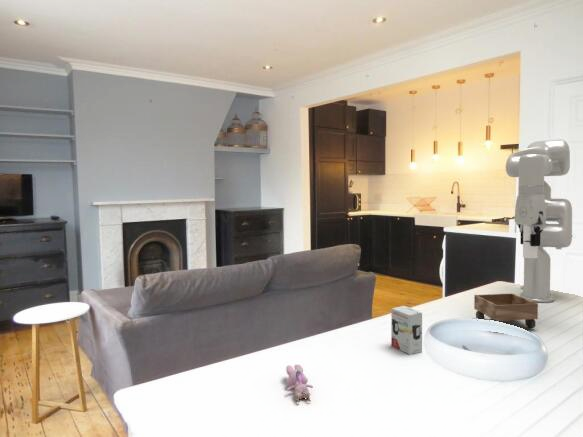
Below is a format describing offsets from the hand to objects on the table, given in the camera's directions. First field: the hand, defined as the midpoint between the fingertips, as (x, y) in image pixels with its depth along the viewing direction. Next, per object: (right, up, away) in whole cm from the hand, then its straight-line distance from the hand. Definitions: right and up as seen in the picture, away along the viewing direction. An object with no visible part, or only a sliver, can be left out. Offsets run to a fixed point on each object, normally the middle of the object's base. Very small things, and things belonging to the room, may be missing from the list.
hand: (530, 244), depth 143 cm
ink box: (-47, -30, -18) cm, 59 cm away
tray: (-8, -28, +1) cm, 29 cm away
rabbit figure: (-80, -33, -41) cm, 95 cm away
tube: (0, -5, 0) cm, 5 cm away
